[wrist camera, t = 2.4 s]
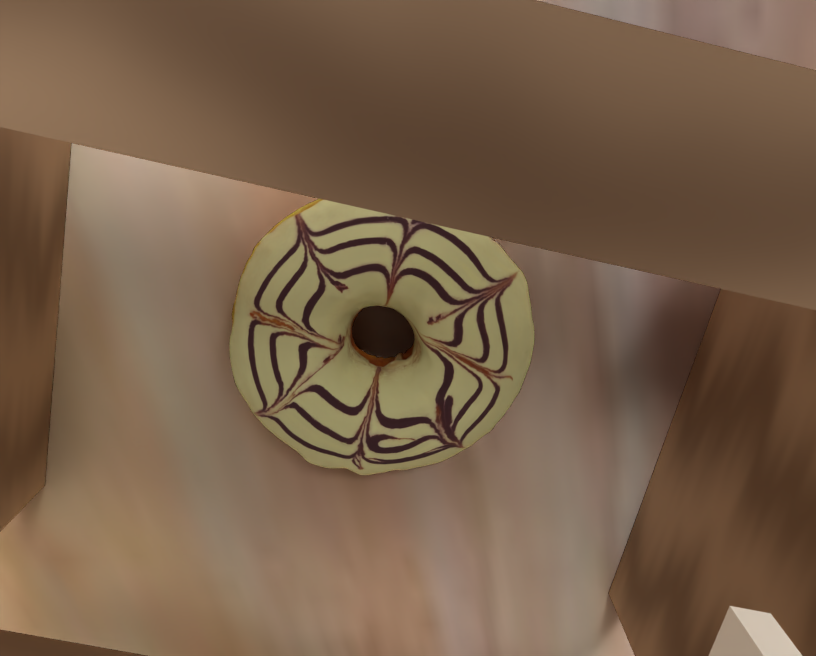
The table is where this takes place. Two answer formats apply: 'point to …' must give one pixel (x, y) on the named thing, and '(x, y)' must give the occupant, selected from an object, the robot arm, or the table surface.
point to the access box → (471, 222)
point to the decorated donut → (368, 375)
